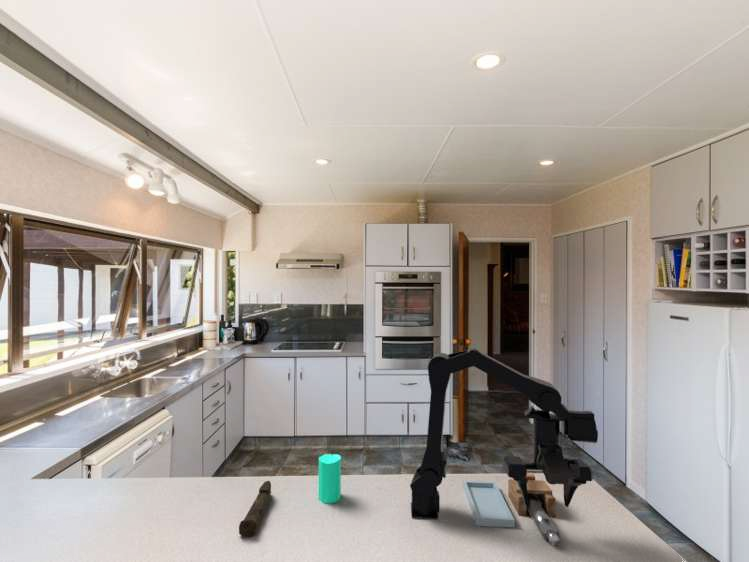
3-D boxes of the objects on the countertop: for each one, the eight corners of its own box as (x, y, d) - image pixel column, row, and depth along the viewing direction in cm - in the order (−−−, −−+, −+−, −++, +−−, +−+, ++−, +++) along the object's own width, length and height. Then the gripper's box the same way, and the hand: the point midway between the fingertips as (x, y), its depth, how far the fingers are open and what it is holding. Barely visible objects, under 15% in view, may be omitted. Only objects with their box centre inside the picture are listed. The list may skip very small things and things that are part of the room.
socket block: (518, 515, 98) (518, 493, 98) (508, 496, 107) (508, 476, 107) (555, 516, 97) (555, 495, 97) (542, 497, 106) (542, 477, 106)
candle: (345, 495, 106) (345, 451, 106) (331, 505, 101) (331, 458, 101) (327, 489, 109) (328, 446, 110) (313, 499, 104) (314, 453, 104)
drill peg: (549, 551, 85) (544, 535, 85) (528, 516, 98) (524, 502, 98) (565, 547, 85) (560, 531, 85) (542, 512, 98) (538, 498, 98)
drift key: (525, 512, 98) (525, 489, 98) (515, 494, 107) (515, 473, 107) (545, 513, 98) (545, 490, 98) (533, 495, 107) (533, 474, 107)
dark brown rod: (255, 539, 87) (256, 517, 88) (238, 538, 88) (238, 517, 88) (279, 495, 106) (279, 478, 106) (264, 494, 106) (265, 477, 107)
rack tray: (476, 525, 93) (476, 518, 93) (463, 486, 111) (463, 480, 112) (514, 527, 92) (514, 520, 92) (495, 488, 111) (495, 482, 111)
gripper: (516, 449, 84) (515, 523, 84) (605, 453, 83) (605, 527, 83) (502, 431, 95) (501, 496, 95) (580, 434, 94) (581, 500, 94)
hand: (546, 505), depth 91 cm, fingers open, 9 cm apart
